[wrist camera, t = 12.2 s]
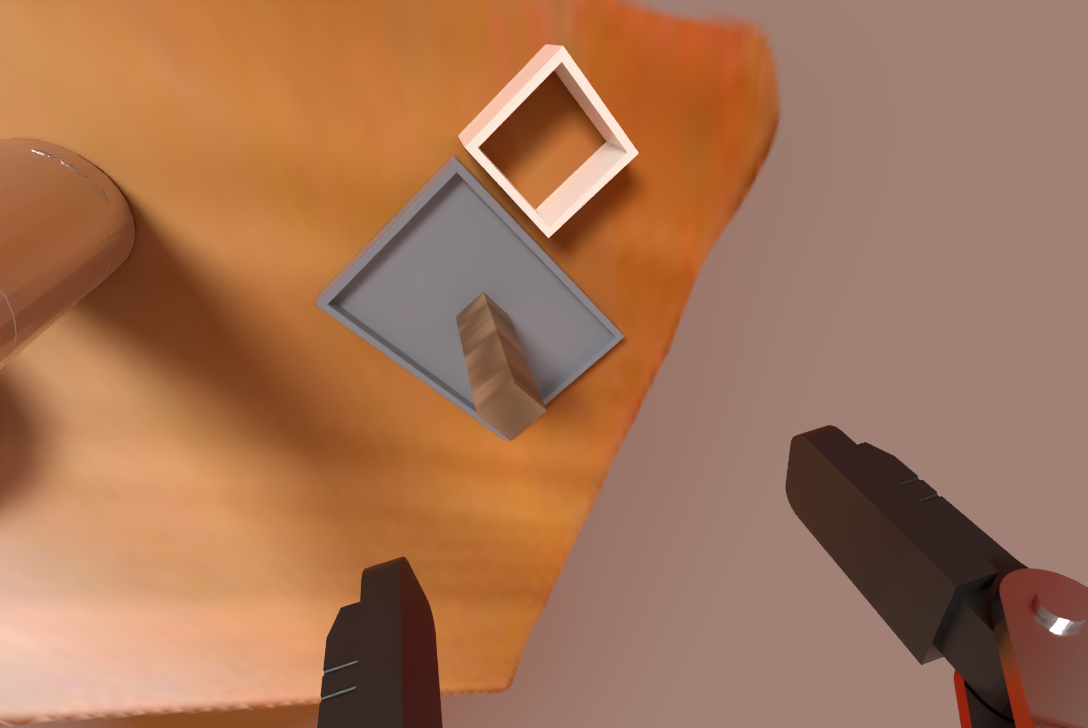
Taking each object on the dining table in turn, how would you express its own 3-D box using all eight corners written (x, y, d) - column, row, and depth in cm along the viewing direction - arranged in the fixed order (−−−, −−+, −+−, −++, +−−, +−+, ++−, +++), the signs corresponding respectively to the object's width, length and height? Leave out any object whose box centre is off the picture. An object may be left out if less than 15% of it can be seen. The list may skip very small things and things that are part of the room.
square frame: (535, 220, 43) (548, 238, 39) (457, 136, 38) (464, 147, 35) (616, 142, 41) (638, 153, 38) (545, 44, 37) (563, 45, 33)
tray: (501, 428, 53) (504, 440, 52) (318, 294, 42) (315, 304, 41) (617, 327, 50) (624, 336, 49) (454, 154, 39) (456, 159, 38)
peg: (481, 339, 47) (510, 440, 35) (455, 316, 45) (477, 415, 34) (508, 315, 46) (547, 410, 35) (483, 291, 45) (514, 383, 33)
